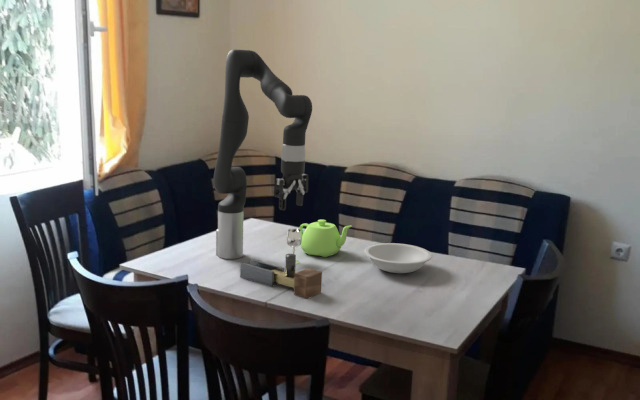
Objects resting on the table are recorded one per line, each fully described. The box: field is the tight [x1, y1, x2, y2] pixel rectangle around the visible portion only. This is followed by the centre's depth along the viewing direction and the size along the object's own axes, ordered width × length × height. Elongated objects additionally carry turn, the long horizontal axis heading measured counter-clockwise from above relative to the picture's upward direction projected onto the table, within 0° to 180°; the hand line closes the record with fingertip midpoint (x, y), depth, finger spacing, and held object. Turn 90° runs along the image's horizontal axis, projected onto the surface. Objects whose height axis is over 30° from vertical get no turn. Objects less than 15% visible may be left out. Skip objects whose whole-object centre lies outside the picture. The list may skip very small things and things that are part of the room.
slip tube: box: [271, 253, 297, 289], centre depth 206 cm, size 16×3×10 cm, turn 54°
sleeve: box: [239, 258, 285, 288], centre depth 213 cm, size 14×6×5 cm, turn 54°
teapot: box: [298, 219, 352, 258], centre depth 244 cm, size 22×15×13 cm
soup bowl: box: [364, 242, 433, 274], centre depth 228 cm, size 24×24×7 cm
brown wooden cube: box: [293, 267, 323, 300], centre depth 202 cm, size 6×7×7 cm
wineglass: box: [285, 228, 302, 265], centre depth 232 cm, size 6×6×12 cm
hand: (290, 207), depth 207 cm, fingers open, 8 cm apart
